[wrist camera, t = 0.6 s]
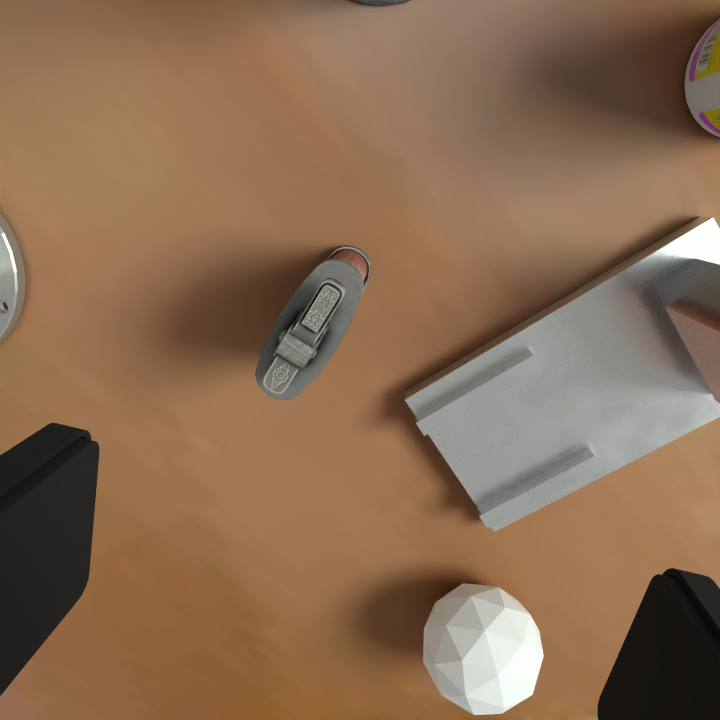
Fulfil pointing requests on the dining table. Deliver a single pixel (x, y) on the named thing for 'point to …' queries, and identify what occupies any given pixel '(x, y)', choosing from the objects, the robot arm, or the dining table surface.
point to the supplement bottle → (705, 80)
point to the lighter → (312, 324)
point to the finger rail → (584, 380)
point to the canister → (381, 2)
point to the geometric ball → (482, 649)
